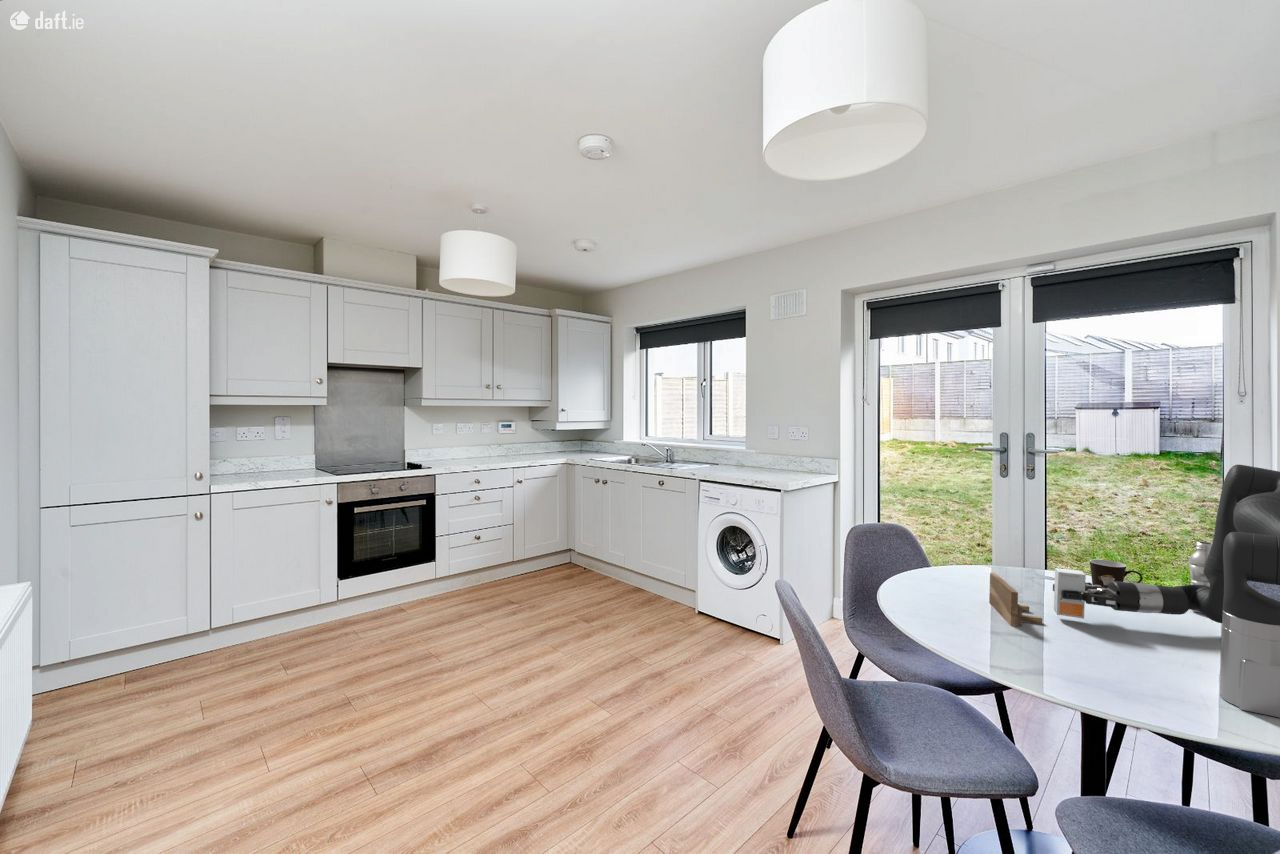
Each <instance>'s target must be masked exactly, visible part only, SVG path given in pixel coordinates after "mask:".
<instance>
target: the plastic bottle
mask: <svg viewBox="0 0 1280 854" xmlns="http://www.w3.org/2000/svg"><path fill="white" fill-rule="evenodd" d="M1195 543H1196V544H1195V549H1196V550H1195V551H1194V552H1193V553H1191V555H1190V556H1189V557H1188V559H1187V560H1188V566H1189V572H1190V585H1205V586H1210V582H1209V580H1208V579H1207V578H1206V576H1205V575H1204V567H1205V565H1206V561H1207V558H1208V555H1209V552H1210V549H1211V546H1212V542H1208V541H1196V542H1195ZM1192 612H1195V613H1199V614H1202V613H1201V612H1199V611H1197V610H1192Z"/></svg>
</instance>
